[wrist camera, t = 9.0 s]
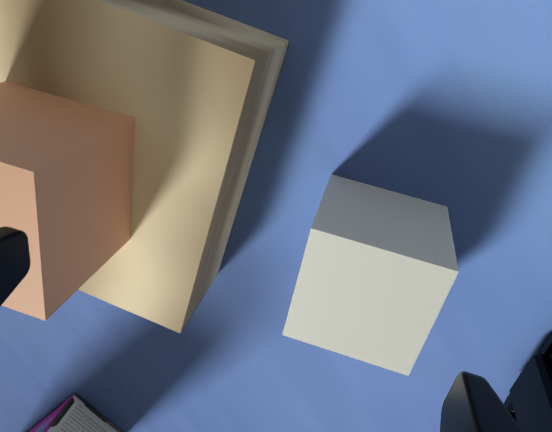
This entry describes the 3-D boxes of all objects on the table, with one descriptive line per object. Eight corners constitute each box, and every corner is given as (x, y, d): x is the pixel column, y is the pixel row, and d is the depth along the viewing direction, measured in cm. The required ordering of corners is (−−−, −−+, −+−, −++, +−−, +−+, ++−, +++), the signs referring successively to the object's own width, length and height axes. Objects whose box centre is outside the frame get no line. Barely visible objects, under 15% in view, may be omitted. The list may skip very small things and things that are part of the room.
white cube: (447, 205, 19) (458, 271, 15) (408, 296, 22) (408, 375, 18) (331, 173, 20) (311, 228, 16) (305, 265, 23) (282, 335, 18)
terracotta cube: (135, 117, 16) (33, 171, 12) (130, 238, 18) (45, 320, 14) (5, 81, 16) (-138, 120, 12) (18, 203, 19) (-97, 271, 15)
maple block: (291, 39, 18) (255, 60, 14) (220, 269, 24) (180, 333, 20) (18, -64, 19) (-95, -74, 15) (16, 184, 25) (-65, 228, 21)
